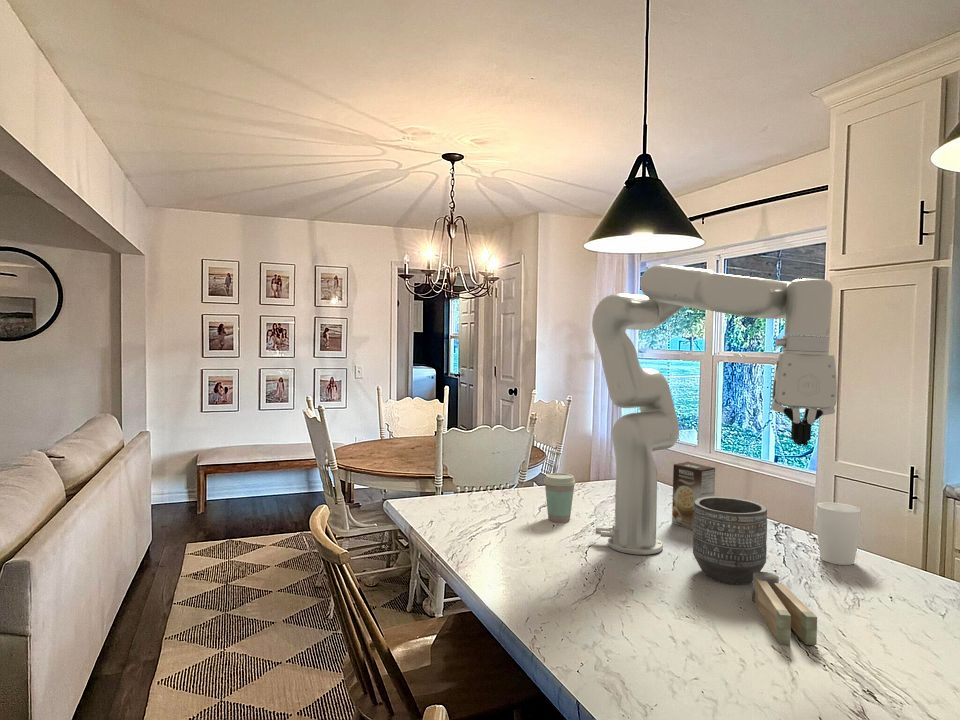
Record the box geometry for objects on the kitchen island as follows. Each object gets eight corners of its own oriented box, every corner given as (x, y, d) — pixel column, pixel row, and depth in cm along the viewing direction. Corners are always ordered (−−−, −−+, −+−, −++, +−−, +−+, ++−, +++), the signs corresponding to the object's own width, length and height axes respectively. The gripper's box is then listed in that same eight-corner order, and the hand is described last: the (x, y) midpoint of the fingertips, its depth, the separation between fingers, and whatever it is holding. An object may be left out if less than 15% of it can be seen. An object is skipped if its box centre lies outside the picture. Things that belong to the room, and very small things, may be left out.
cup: (867, 569, 136) (868, 513, 136) (821, 565, 138) (823, 511, 137) (851, 555, 145) (853, 503, 145) (808, 552, 147) (810, 500, 146)
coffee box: (670, 523, 169) (671, 463, 169) (685, 519, 173) (687, 461, 172) (699, 532, 161) (700, 469, 161) (715, 528, 165) (716, 467, 165)
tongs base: (778, 644, 102) (779, 613, 101) (749, 596, 120) (750, 570, 120) (807, 646, 101) (808, 615, 101) (774, 598, 120) (775, 572, 119)
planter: (760, 594, 122) (761, 517, 121) (684, 579, 129) (686, 506, 129) (770, 572, 134) (772, 502, 133) (700, 559, 141) (702, 492, 141)
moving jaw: (806, 644, 101) (806, 616, 101) (773, 607, 115) (774, 583, 115) (816, 644, 101) (817, 617, 101) (782, 608, 115) (783, 583, 115)
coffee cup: (579, 518, 173) (580, 474, 172) (566, 526, 166) (567, 480, 165) (551, 513, 177) (552, 471, 177) (537, 520, 170) (538, 476, 170)
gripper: (768, 345, 115) (762, 444, 116) (858, 348, 112) (851, 450, 113) (758, 344, 123) (753, 437, 124) (842, 347, 119) (836, 443, 121)
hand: (800, 443), depth 118 cm, fingers closed
